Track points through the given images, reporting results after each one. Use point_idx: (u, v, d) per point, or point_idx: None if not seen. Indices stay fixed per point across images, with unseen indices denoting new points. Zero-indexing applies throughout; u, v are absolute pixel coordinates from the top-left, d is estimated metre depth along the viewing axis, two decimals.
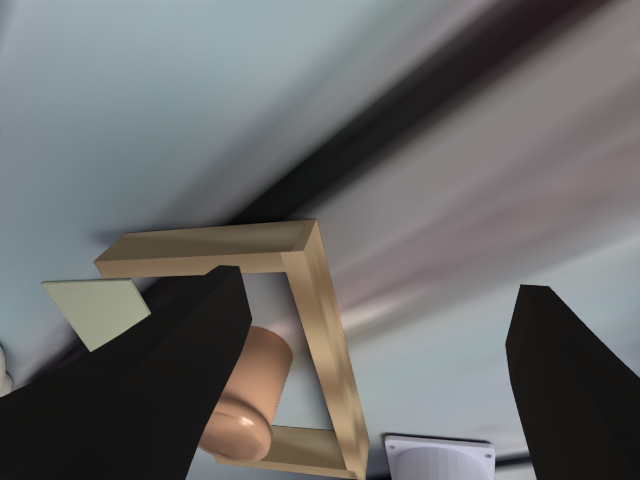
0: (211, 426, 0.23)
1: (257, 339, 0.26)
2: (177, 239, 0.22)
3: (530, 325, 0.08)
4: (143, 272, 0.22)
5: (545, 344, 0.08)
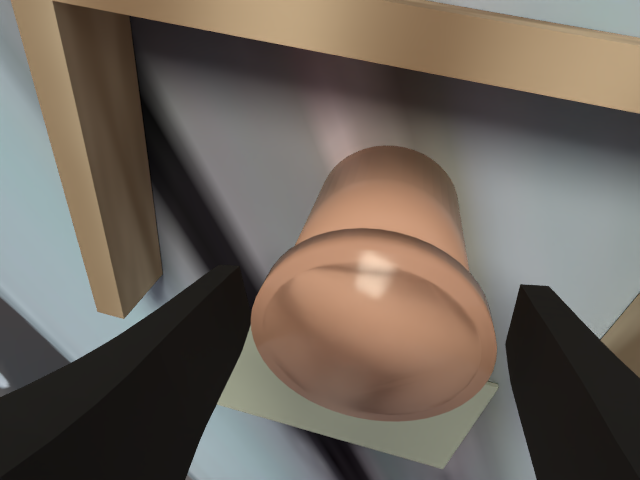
0: (323, 351, 0.09)
1: (323, 188, 0.13)
2: None
3: (530, 325, 0.08)
4: (103, 261, 0.15)
5: (545, 344, 0.08)
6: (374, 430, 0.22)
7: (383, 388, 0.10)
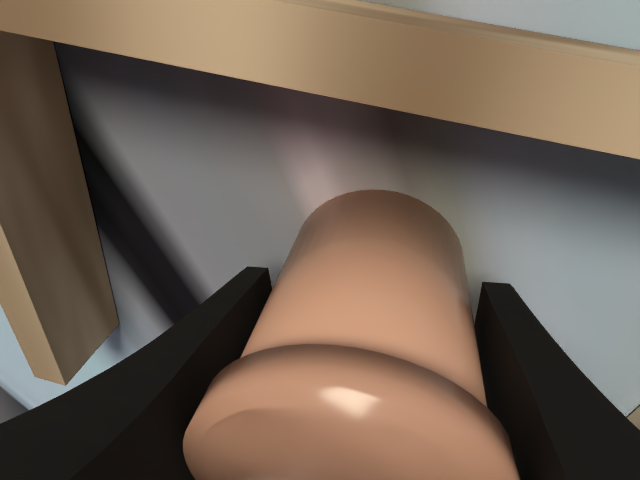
0: None
1: (296, 241, 0.11)
2: None
3: (488, 321, 0.09)
4: (32, 325, 0.12)
5: (499, 340, 0.08)
6: None
7: None
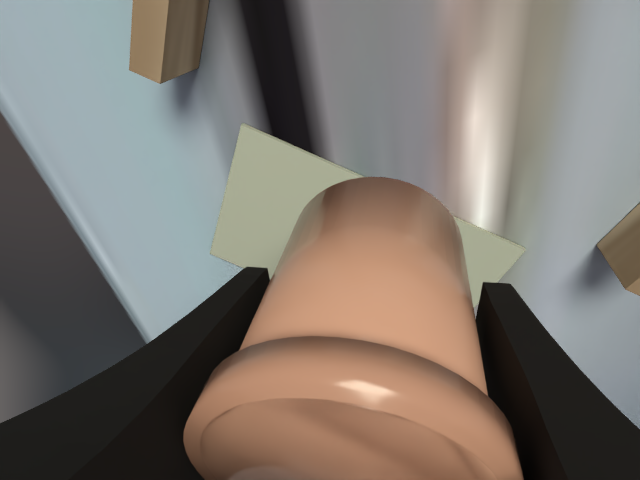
0: None
1: (295, 229, 0.10)
2: None
3: (489, 321, 0.09)
4: None
5: (499, 340, 0.08)
6: None
7: None
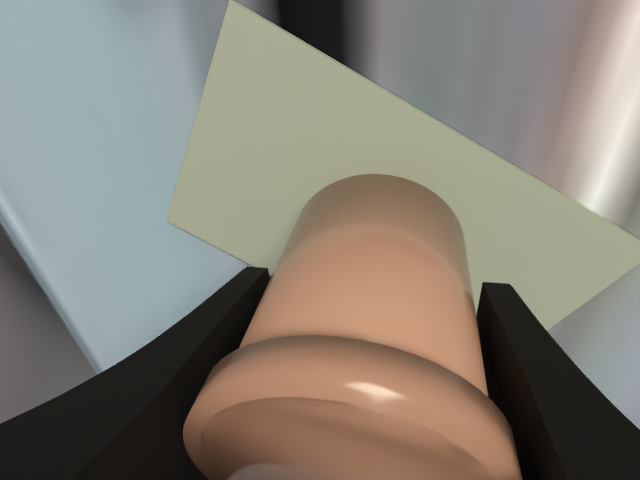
0: (284, 479, 0.07)
1: (296, 225, 0.10)
2: None
3: (489, 321, 0.09)
4: None
5: (499, 340, 0.08)
6: None
7: None
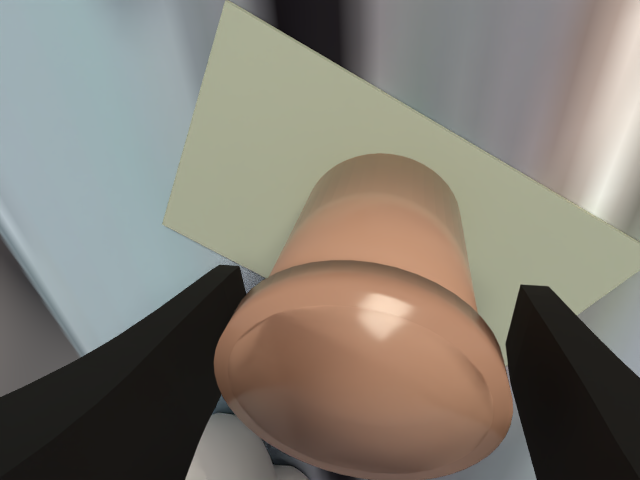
0: (301, 402, 0.08)
1: (308, 199, 0.12)
2: None
3: (530, 325, 0.08)
4: None
5: (545, 344, 0.08)
6: None
7: (371, 446, 0.08)
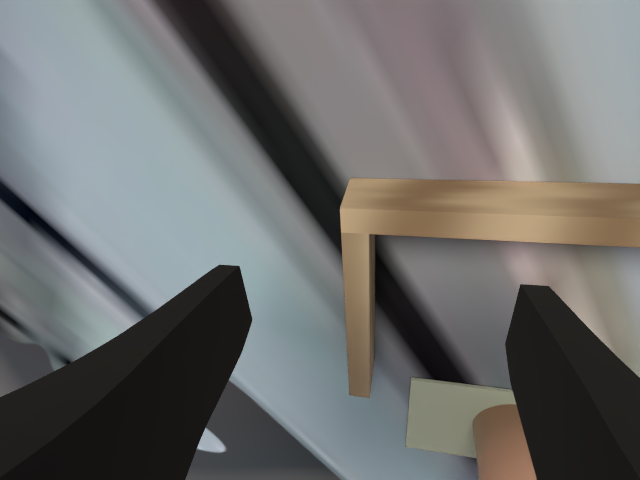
0: None
1: (475, 434, 0.26)
2: None
3: (530, 325, 0.08)
4: (363, 363, 0.21)
5: (545, 344, 0.08)
6: None
7: None
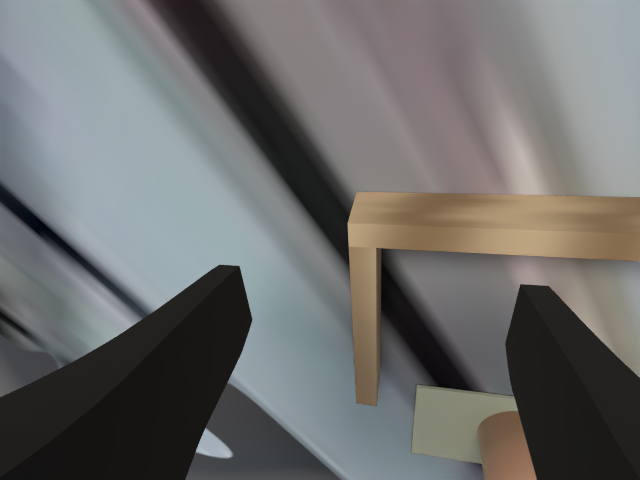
0: None
1: (481, 440, 0.26)
2: None
3: (530, 325, 0.08)
4: (370, 372, 0.22)
5: (545, 344, 0.08)
6: None
7: None
